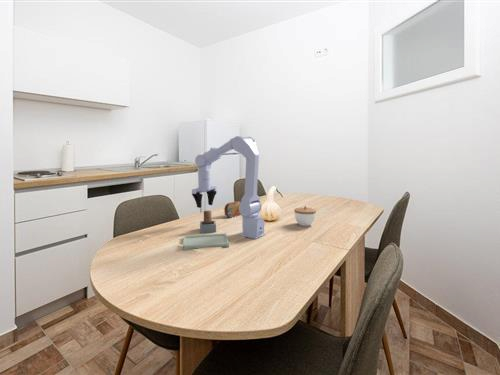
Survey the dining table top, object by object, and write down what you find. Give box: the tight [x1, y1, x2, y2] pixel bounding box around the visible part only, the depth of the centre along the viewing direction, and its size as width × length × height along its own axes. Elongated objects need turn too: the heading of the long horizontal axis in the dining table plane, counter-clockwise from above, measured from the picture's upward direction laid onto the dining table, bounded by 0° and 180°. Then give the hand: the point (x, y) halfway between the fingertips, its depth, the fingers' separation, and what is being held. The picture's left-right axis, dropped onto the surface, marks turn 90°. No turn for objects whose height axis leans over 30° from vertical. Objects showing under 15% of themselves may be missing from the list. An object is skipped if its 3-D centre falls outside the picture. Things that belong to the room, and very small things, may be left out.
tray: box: [182, 233, 230, 251], centre depth 118 cm, size 18×13×2 cm
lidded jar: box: [294, 206, 317, 227], centre depth 145 cm, size 11×11×9 cm
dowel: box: [203, 210, 213, 225], centre depth 134 cm, size 4×4×9 cm
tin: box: [223, 200, 242, 219], centre depth 164 cm, size 15×3×8 cm, turn 143°
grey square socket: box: [199, 220, 217, 234], centre depth 134 cm, size 7×7×4 cm
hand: (204, 206), depth 143 cm, fingers open, 7 cm apart
